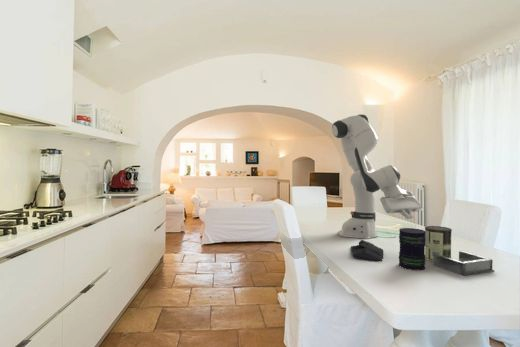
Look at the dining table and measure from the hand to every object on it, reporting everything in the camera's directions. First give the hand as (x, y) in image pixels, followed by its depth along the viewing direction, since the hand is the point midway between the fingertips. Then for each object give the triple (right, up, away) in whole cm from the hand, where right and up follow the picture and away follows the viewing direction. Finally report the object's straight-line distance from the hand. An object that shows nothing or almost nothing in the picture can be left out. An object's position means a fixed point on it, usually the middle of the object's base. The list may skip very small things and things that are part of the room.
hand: (410, 218), depth 151 cm
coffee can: (+5, -16, -15) cm, 23 cm away
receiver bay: (+9, -16, -25) cm, 31 cm away
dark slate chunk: (-23, -17, -6) cm, 29 cm away
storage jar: (-11, -17, -24) cm, 31 cm away
